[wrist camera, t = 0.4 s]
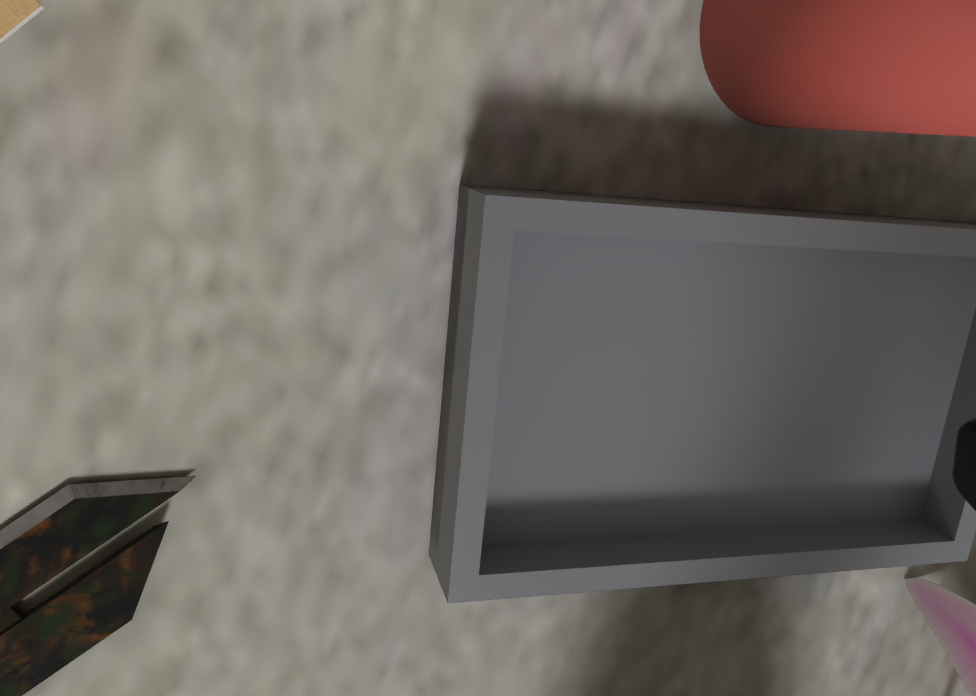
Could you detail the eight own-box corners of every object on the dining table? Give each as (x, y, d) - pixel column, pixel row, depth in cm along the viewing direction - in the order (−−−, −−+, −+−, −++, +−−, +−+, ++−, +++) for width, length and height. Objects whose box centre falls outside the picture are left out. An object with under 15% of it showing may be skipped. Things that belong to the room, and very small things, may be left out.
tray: (910, 524, 29) (967, 561, 27) (429, 555, 24) (447, 603, 22) (990, 223, 26) (1060, 235, 24) (459, 184, 21) (485, 194, 19)
